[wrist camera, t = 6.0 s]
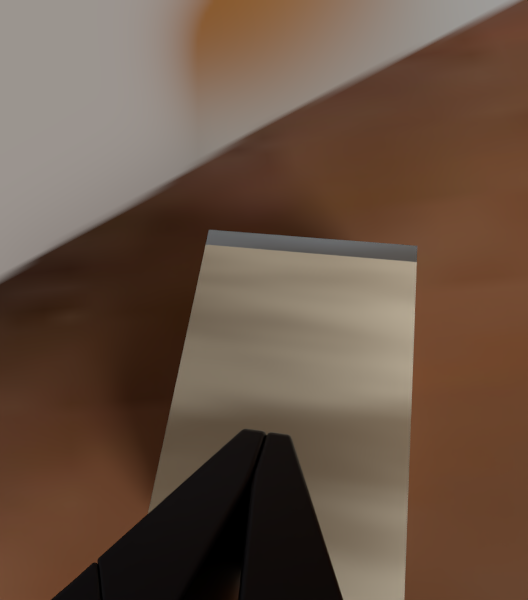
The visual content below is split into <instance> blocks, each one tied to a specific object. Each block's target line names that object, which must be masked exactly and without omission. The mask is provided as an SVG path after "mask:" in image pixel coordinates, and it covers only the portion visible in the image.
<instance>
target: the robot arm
mask: <svg viewBox="0 0 528 600" xmlns="http://www.w3.org/2000/svg"><path fill="white" fill-rule="evenodd" d="M51 600H343V597H342V594H341V591H340V588H339V585H338V581H337V578H336V575H335V572H334V569H333V566H332V563H331V559H330V556H329V553H328V550H327V547H326V544H325V541H324V537H323V534H322V531H321V528H320V525H319V522H318V519H317V515H316V512H315V509H314V506H313V503H312V500H311V497H310V493H309V490H308V487H307V484H306V481H305V478H304V475H303V471H302V468H301V465H300V462H299V459H298V456H297V453H296V449H295V446H294V443H293V440H292V438H291V436H290V435H288V434H282V433H275V432H269V433H268V434H267V435H266V432H264V431H261V430H254V429H247V428H246V429H242V430H241V431H240V432H239V433H238V434H236V435H235V436H234V437H233V438H232V439H231V440H230V441H229V442H228V443H226V444H225V445H224V446H223V447H222V448H221V449H220V450H219V451H218V452H216V453H215V454H214V455H213V456H212V457H211V458H210V459H209V460H207V461H206V462H205V463H204V464H203V465H202V466H201V467H200V468H199V469H197V470H196V471H195V472H194V473H193V474H192V475H191V476H190V477H189V478H187V479H186V480H185V481H184V482H183V483H182V484H181V485H180V486H179V487H177V488H176V489H175V490H174V491H173V492H172V493H171V494H170V495H168V496H167V497H166V498H165V499H164V500H163V501H162V502H161V503H160V504H158V505H157V506H156V507H155V508H154V509H153V510H152V511H151V512H150V513H148V514H147V515H146V516H145V517H144V518H143V519H142V520H141V521H140V522H138V523H137V524H136V525H135V526H134V527H133V528H132V529H131V530H129V531H128V532H127V533H126V534H125V535H124V536H123V537H122V538H121V539H119V540H118V541H117V542H116V543H115V544H114V545H113V546H112V547H111V548H109V549H108V550H107V551H106V552H105V553H104V554H103V555H102V556H101V557H99V558H98V564H97V563H92V564H91V565H90V566H89V567H88V568H87V569H86V570H85V571H83V572H82V573H81V574H80V575H79V576H78V577H77V578H76V579H75V580H73V581H72V582H71V583H70V584H69V585H68V586H66V587H65V588H64V589H63V590H62V591H61V592H59V593H58V594H57V595H56V596H55V597H54V598H52V599H51Z"/></svg>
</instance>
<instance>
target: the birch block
mask: <svg viewBox="0 0 528 600" xmlns="http://www.w3.org/2000/svg"><path fill="white" fill-rule="evenodd" d="M416 265H417V246H411V245H398V244H385V243H372V242H360V241H347V240H334V239H321V238H308V237H296V236H283V235H270V234H257V233H244V232H231V231H219V230H209V232H208V236H207V241H206V245H205V250H204V255H203V259H202V264H201V269H200V273H199V278H198V283H197V287H196V292H195V297H194V301H193V306H192V311H191V315H190V320H189V325H188V329H187V334H186V339H185V343H184V348H183V353H182V357H181V362H180V367H179V371H178V376H177V381H176V385H175V390H174V395H173V399H172V404H171V409H170V413H169V418H168V423H167V427H166V432H165V437H164V441H163V446H162V450H161V455H160V460H159V464H158V469H157V474H156V478H155V483H154V488H153V492H152V497H151V502H150V506H149V511H148V513H150V512H151V511H152V510H153V509H154V508H155V507H156V506H157V505H158V504H160V503H161V502H162V501H163V500H164V499H165V498H166V497H167V496H168V495H170V494H171V493H172V492H173V491H174V490H175V489H176V488H177V487H179V486H180V485H181V484H182V483H183V482H184V481H185V480H186V479H187V478H189V477H190V476H191V475H192V474H193V473H194V472H195V471H196V470H197V469H199V468H200V467H201V466H202V465H203V464H204V463H205V462H206V461H207V460H209V459H210V458H211V457H212V456H213V455H214V454H215V453H216V452H218V451H219V450H220V449H221V448H222V447H223V446H224V445H225V444H226V443H228V442H229V441H230V440H231V439H232V438H233V437H234V436H235V435H236V434H238V433H239V432H240V431H241V430H242V429H246V428H247V429H254V430H261V431H264V432H266V435H267V434H268V433H269V432H275V433H282V434H288V435H290V436H291V438H292V440H293V443H294V446H295V449H296V453H297V456H298V459H299V462H300V465H301V468H302V471H303V475H304V478H305V481H306V484H307V487H308V490H309V493H310V497H311V500H312V503H313V506H314V509H315V512H316V515H317V519H318V522H319V525H320V528H321V531H322V534H323V537H324V541H325V544H326V547H327V550H328V553H329V556H330V559H331V563H332V566H333V569H334V572H335V575H336V578H337V581H338V585H339V588H340V591H341V594H342V597H343V600H404V592H405V565H406V537H407V510H408V483H409V456H410V428H411V401H412V374H413V347H414V319H415V292H416Z"/></svg>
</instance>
